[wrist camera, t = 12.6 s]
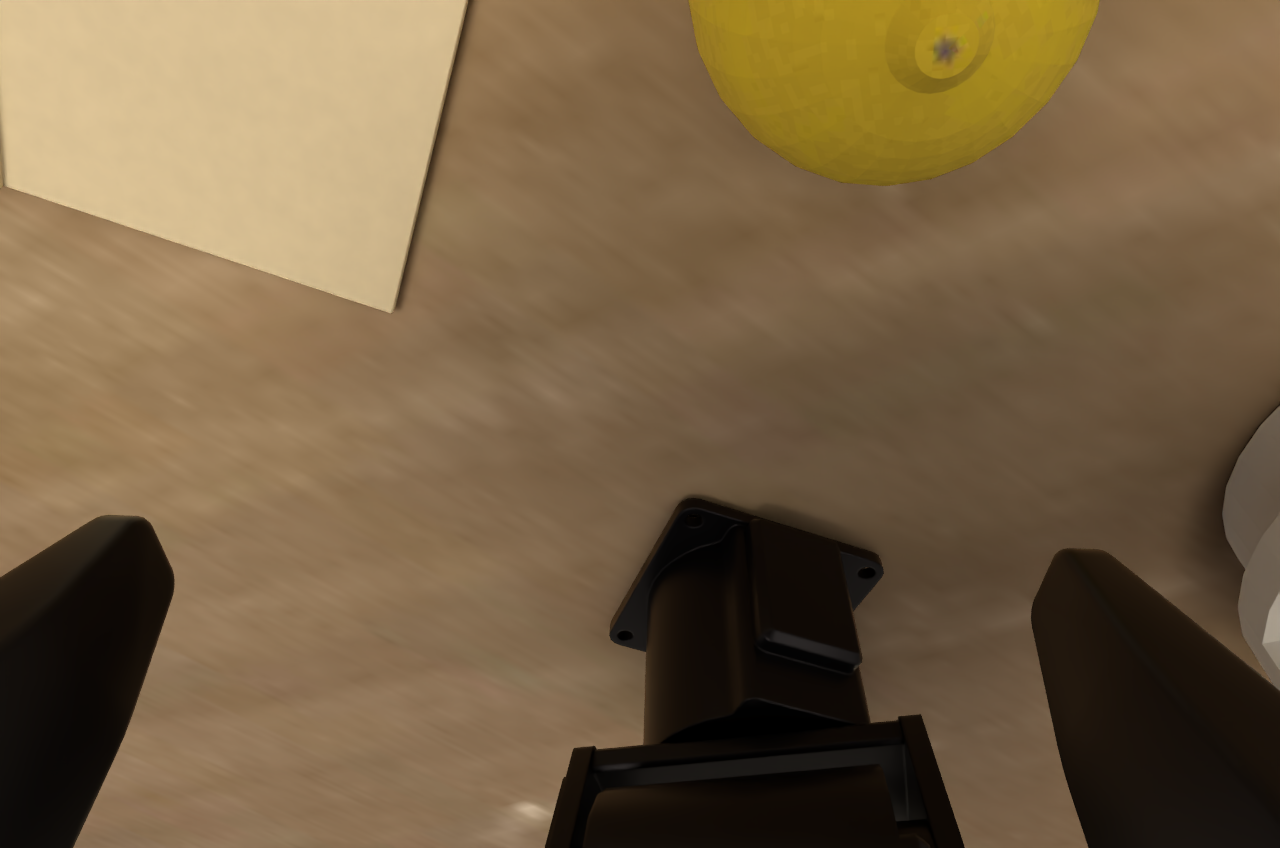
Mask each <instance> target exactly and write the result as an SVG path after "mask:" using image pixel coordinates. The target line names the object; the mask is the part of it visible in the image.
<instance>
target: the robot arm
mask: <svg viewBox="0 0 1280 848" xmlns="http://www.w3.org/2000/svg"><path fill="white" fill-rule="evenodd" d="M692 514H695V515H699V516H698V517H695V518H694V517H689V515H692ZM865 567H869V568H866V569H862V568H865ZM883 574H884V571H883V566H882V562H881V558H880V557H879V556H878V555H877V554H875V553H873V552H870V551H867V550H864V549H861V548H857V547H854V546H851V545H848V544H844V543H841V542H838V541H835V540H831V539H828V538H825V537H822V536H818V535H815V534H812V533H809V532H805V531H802V530H799V529H796V528H793V527H789V526H786V525H783V524H780V523H776V522H773V521H770V520H767V519H763V518H760V517H757V516H754V515H750V514H747V513H744V512H741V511H737V510H734V509H731V508H728V507H725V506H721V505H718V504H715V503H712V502H708V501H705V500H702V499H697V498H691V499H686V500H684V501H682V502H681V503H680V504H679V505H678V506H677V507H676V509H675V511H674V513H673V514H672V516H671V518H670V520H669V521H668V523H667V525H666V527H665V528H664V530H663V532H662V534H661V535H660V537H659V539H658V541H657V542H656V544H655V546H654V548H653V549H652V551H651V553H650V555H649V556H648V558H647V560H646V562H645V563H644V565H643V567H642V569H641V570H640V572H639V574H638V576H637V577H636V579H635V581H634V583H633V584H632V586H631V588H630V590H629V591H628V593H627V595H626V597H625V598H624V600H623V602H622V604H621V605H620V607H619V609H618V611H617V612H616V614H615V616H614V618H613V619H612V621H611V624H610V635H609V636H610V638H611V640H612V641H613V642H614V643H616V644H619V645H622V646H626V647H629V648H633V649H637V650H641V651H644V652H646V675H645V709H644V743H643V745H638V746H628V747H617V748H607V749H596V747H595V746H590V747H580V748H574V749H573V752H572V756H571V760H570V764H569V767H568V771H567V775H566V777H564V778H563V781H562V784H561V788H560V792H559V796H558V800H557V803H556V807H555V811H554V815H553V818H552V822H551V826H550V830H549V834H548V837H547V841H546V845H545V848H965V847H964V844H963V841H962V838H961V835H960V832H959V829H958V825H957V822H956V819H955V816H954V813H953V810H952V807H951V804H950V801H949V798H948V795H947V792H946V789H945V786H944V783H943V780H942V777H941V774H940V771H939V768H938V765H937V762H936V758H935V755H934V752H933V749H932V746H931V743H930V740H929V737H928V734H927V731H926V728H925V725H924V722H923V719H922V716H921V714H918V715H908V716H898V720H896V721H886V722H876V723H871V721H870V716H869V711H868V707H867V702H866V697H865V692H864V687H863V682H862V677H861V672H860V667H859V665H860V664H861V663H862V659H863V657H862V652H861V648H860V643H859V638H858V633H857V629H856V624H855V619H854V614H853V611H854V610H855V609H856V607H857V606H858V605H859V604H860V603H861V601H862V600H863V599H864V598H865V597H866V596H867V594H868V593H869V592H870V591H871V590H872V588H873V587H874V586H875V585H876V584H877V582H878V581H879V580H880V579H881V578H882V576H883ZM173 592H174V574H173V570H172V567H171V565H170V563H169V561H168V559H167V557H166V555H165V552H164V550H163V548H162V546H161V544H160V542H159V540H158V537H157V535H156V533H155V531H154V529H153V527H152V525H151V523H150V522H148V521H147V520H146V519H145V518H143V517H139V516H119V515H105V516H100V517H97V518H95V519H93V520H92V521H90V522H88V523H87V524H85V525H83V526H82V527H80V528H79V529H77V530H75V531H74V532H72V533H71V534H69V535H67V536H66V537H64V538H63V539H61V540H59V541H58V542H56V543H55V544H53V545H51V546H50V547H48V548H47V549H45V550H43V551H42V552H40V553H39V554H37V555H35V556H34V557H32V558H31V559H29V560H27V561H26V562H24V563H23V564H21V565H19V566H18V567H16V568H15V569H13V570H11V571H10V572H8V573H7V574H5V575H3V576H2V577H0V848H73V847H74V844H75V842H76V840H77V838H78V836H79V834H80V831H81V829H82V827H83V825H84V823H85V821H86V818H87V816H88V814H89V812H90V810H91V808H92V806H93V803H94V801H95V799H96V797H97V795H98V793H99V790H100V788H101V786H102V784H103V782H104V780H105V778H106V775H107V773H108V771H109V769H110V767H111V765H112V762H113V760H114V758H115V756H116V754H117V751H118V749H119V747H120V744H121V742H122V740H123V738H124V735H125V733H126V730H127V727H128V725H129V722H130V719H131V717H132V714H133V711H134V709H135V706H136V703H137V700H138V697H139V694H140V691H141V688H142V685H143V682H144V679H145V676H146V673H147V670H148V667H149V664H150V661H151V658H152V656H153V653H154V650H155V647H156V644H157V641H158V638H159V635H160V632H161V629H162V626H163V623H164V620H165V617H166V614H167V611H168V608H169V605H170V602H171V600H172V596H173ZM1031 622H1032V629H1033V633H1034V638H1035V643H1036V647H1037V652H1038V657H1039V661H1040V666H1041V671H1042V675H1043V680H1044V685H1045V689H1046V694H1047V699H1048V704H1049V708H1050V713H1051V718H1052V722H1053V727H1054V732H1055V736H1056V741H1057V746H1058V750H1059V754H1060V758H1061V762H1062V766H1063V770H1064V773H1065V777H1066V780H1067V783H1068V787H1069V790H1070V793H1071V796H1072V799H1073V802H1074V805H1075V808H1076V811H1077V814H1078V817H1079V820H1080V823H1081V826H1082V829H1083V832H1084V835H1085V838H1086V841H1087V844H1088V847H1089V848H1280V690H1278V689H1277V688H1276V687H1275V686H1274V685H1272V684H1271V683H1270V682H1269V681H1267V680H1266V679H1265V678H1264V677H1262V676H1261V675H1260V674H1259V673H1257V672H1256V671H1255V670H1254V669H1252V668H1251V667H1250V666H1249V665H1247V664H1246V663H1245V662H1244V661H1242V660H1241V659H1240V658H1239V657H1237V656H1236V655H1235V654H1234V653H1233V652H1231V651H1230V650H1229V649H1228V648H1226V647H1225V646H1224V645H1223V644H1221V643H1220V642H1219V641H1218V640H1216V639H1215V638H1214V637H1213V636H1211V635H1210V634H1209V633H1208V632H1206V631H1205V630H1204V629H1203V628H1201V627H1200V626H1199V625H1198V624H1197V623H1195V622H1194V621H1193V620H1192V619H1190V618H1189V617H1188V616H1187V615H1185V614H1184V613H1183V612H1182V611H1180V610H1179V609H1178V608H1177V607H1175V606H1174V605H1173V604H1172V603H1170V602H1169V601H1168V600H1167V599H1165V598H1164V597H1163V596H1162V595H1160V594H1159V593H1158V592H1157V591H1156V590H1154V589H1153V588H1152V587H1151V586H1149V585H1148V584H1147V583H1146V582H1144V581H1143V580H1142V579H1141V578H1139V577H1138V576H1137V575H1136V574H1134V573H1133V572H1132V571H1131V570H1129V569H1128V568H1127V567H1126V566H1124V565H1123V564H1122V563H1121V562H1120V561H1118V560H1117V559H1116V558H1115V557H1113V556H1112V555H1110V554H1109V553H1107V552H1105V551H1102V550H1098V549H1073V548H1066V549H1062V550H1060V551H1059V552H1058V553H1056V554H1055V556H1054V558H1053V559H1052V562H1051V564H1050V566H1049V568H1048V570H1047V573H1046V575H1045V577H1044V579H1043V581H1042V584H1041V586H1040V588H1039V590H1038V592H1037V594H1036V597H1035V599H1034V602H1033V605H1032V611H1031Z"/></svg>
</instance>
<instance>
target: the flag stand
mask: <svg viewBox="0 0 1280 848" xmlns="http://www.w3.org/2000/svg"><path fill="white" fill-rule="evenodd" d="M1222 516H1223V522H1224V528H1225V533H1226V539H1227V540H1228V542H1229V544H1230V546H1231V547H1232V549H1233V551H1234V553H1235V554H1236V556H1237V558H1238V559H1239V561H1240V562H1241V564H1242V565H1243V566H1244V568H1245V569H1246V570H1245V572H1244V574H1243V579H1242V585H1241V590H1240V596H1239V602H1238V612H1239V618H1240V624H1241V630H1242V635H1243V637H1244V639H1245V640H1246V642H1247V644H1248V645H1249V647H1250V648H1251V650H1252V652H1253V653H1254V655H1255V656H1256V658H1257V660H1258V661H1259V663H1260V664H1261V666H1262V667H1263V669H1264V671H1265V672H1266V674H1267V675H1268V677H1269V678H1270V680H1271V681H1272V683H1273V684H1274V686H1275V687H1276V688H1277V689H1278V690H1280V406H1279V407H1278V408H1277V409H1276V410H1275V411H1274V412H1273V413H1272V414H1271V415H1270V416H1269V417H1268V418H1267V419H1266V420H1265V421H1264V422H1263V423H1262V424H1261V425H1260V427H1259V428H1258V430H1257V431H1256V433H1255V434H1254V436H1253V437H1252V438H1251V440H1250V441H1249V443H1248V444H1247V446H1246V447H1245V449H1244V450H1243V451H1242V453H1241V454H1240V456H1239V458H1238V460H1237V462H1236V465H1235V467H1234V469H1233V472H1232V474H1231V476H1230V479H1229V481H1228V483H1227V486H1226V491H1225V498H1224V505H1223V512H1222Z"/></svg>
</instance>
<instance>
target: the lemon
mask: <svg viewBox="0 0 1280 848" xmlns="http://www.w3.org/2000/svg"><path fill="white" fill-rule="evenodd" d="M688 1H689V6H690V12H691V17H692V22H693V27H694V33H695V38H696V43H697V47H698V51H699V53H700V55H701V58H702V60H703V62H704V64H705V66H706V68H707V71H708V73H709V75H710V77H711V79H712V81H713V83H714V86H715V88H716V90H717V92H718V94H719V96H720V97H721V99H722V100H723V102H724V103H725V104H726V105H727V106H728V108H729V109H730V110H731V111H732V112H733V113H734V115H735V116H736V117H737V118H738V119H739V121H740V122H741V123H742V124H743V125H744V126H745V128H746V129H747V130H748V131H749V132H750V134H751V135H752V136H753V137H754V138H755V139H757V140H758V141H760V142H761V143H763V144H764V145H766V146H767V147H768V148H770V149H771V150H773V151H774V152H776V153H777V154H779V155H780V156H781V157H783V158H784V159H786V160H787V161H789V162H790V163H792V164H793V165H794V166H796V167H799V168H801V169H804V170H807V171H810V172H813V173H815V174H818V175H821V176H824V177H827V178H830V179H832V180H835V181H838V182H841V183H853V184H866V185H878V186H890V185H896V184H903V183H909V182H916V181H922V180H928V179H932V178H935V177H938V176H940V175H943V174H945V173H948V172H950V171H953V170H956V169H958V168H961V167H963V166H966V165H969V164H971V163H973V162H975V161H976V160H978V159H979V158H981V157H982V156H984V155H985V154H987V153H989V152H990V151H992V150H993V149H995V148H996V147H998V146H999V145H1001V144H1002V143H1004V142H1005V141H1007V140H1008V139H1010V138H1012V137H1013V136H1014V135H1015V134H1016V133H1017V132H1018V131H1019V130H1020V129H1021V128H1022V127H1023V126H1024V125H1025V124H1026V123H1027V122H1028V121H1029V120H1030V119H1031V118H1032V117H1033V116H1034V115H1035V114H1036V113H1037V112H1038V111H1039V110H1040V109H1041V108H1043V107H1044V106H1045V105H1046V104H1047V103H1048V101H1049V100H1050V98H1051V97H1052V95H1053V94H1054V93H1055V91H1056V90H1057V88H1058V87H1059V85H1060V84H1061V83H1062V81H1063V80H1064V78H1065V77H1066V75H1067V74H1068V73H1069V71H1070V70H1071V68H1072V67H1073V65H1074V64H1075V62H1076V61H1077V59H1078V56H1079V54H1080V52H1081V49H1082V47H1083V45H1084V42H1085V40H1086V38H1087V35H1088V33H1089V31H1090V28H1091V26H1092V24H1093V21H1094V19H1095V17H1096V14H1097V11H1098V6H1099V1H1100V0H688Z"/></svg>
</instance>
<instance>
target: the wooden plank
mask: <svg viewBox="0 0 1280 848" xmlns="http://www.w3.org/2000/svg"><path fill="white" fill-rule="evenodd" d="M468 1H469V0H0V188H2V187H3V186H6V187H9V188H12V189H15V190H18V191H21V192H24V193H27V194H30V195H33V196H36V197H39V198H42V199H45V200H48V201H51V202H54V203H57V204H60V205H63V206H66V207H70V208H73V209H76V210H79V211H82V212H85V213H88V214H91V215H94V216H97V217H100V218H103V219H106V220H109V221H112V222H115V223H118V224H121V225H124V226H127V227H130V228H133V229H136V230H139V231H142V232H145V233H148V234H151V235H154V236H157V237H160V238H163V239H167V240H170V241H173V242H176V243H179V244H182V245H185V246H188V247H191V248H194V249H197V250H200V251H203V252H206V253H209V254H212V255H215V256H218V257H221V258H224V259H227V260H230V261H233V262H236V263H239V264H242V265H245V266H248V267H251V268H254V269H257V270H260V271H264V272H267V273H270V274H273V275H276V276H279V277H282V278H285V279H288V280H291V281H294V282H297V283H300V284H303V285H306V286H309V287H312V288H315V289H318V290H321V291H324V292H327V293H330V294H333V295H336V296H339V297H342V298H345V299H348V300H351V301H354V302H357V303H360V304H364V305H367V306H370V307H373V308H376V309H379V310H382V311H385V312H388V313H393V311H394V309H395V306H396V302H397V298H398V294H399V289H400V285H401V281H402V277H403V273H404V268H405V264H406V260H407V256H408V252H409V248H410V243H411V239H412V235H413V231H414V227H415V223H416V218H417V214H418V210H419V206H420V202H421V197H422V193H423V189H424V185H425V181H426V177H427V172H428V168H429V164H430V160H431V156H432V152H433V147H434V143H435V139H436V135H437V131H438V126H439V122H440V118H441V114H442V110H443V106H444V101H445V97H446V93H447V89H448V85H449V81H450V76H451V72H452V68H453V64H454V60H455V55H456V51H457V47H458V43H459V39H460V35H461V30H462V26H463V22H464V18H465V14H466V10H467V5H468Z"/></svg>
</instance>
